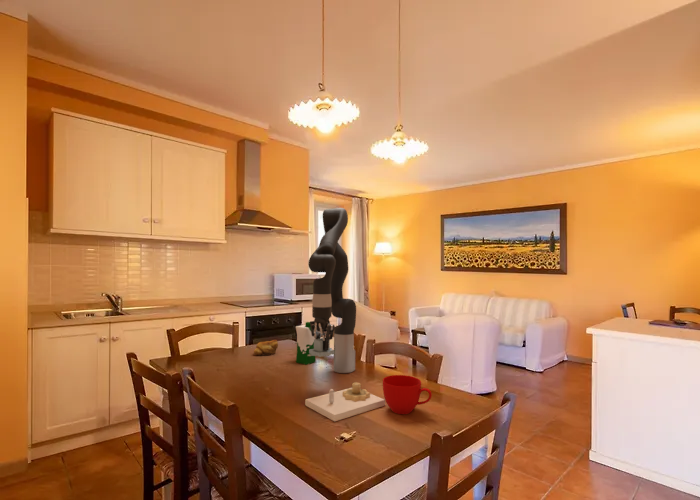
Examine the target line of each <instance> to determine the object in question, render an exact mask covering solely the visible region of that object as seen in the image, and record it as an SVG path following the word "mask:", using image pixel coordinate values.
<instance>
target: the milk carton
mask: <svg viewBox="0 0 700 500" xmlns="http://www.w3.org/2000/svg"><path fill="white" fill-rule="evenodd" d="M295 330H296V358H295V363H297V364H302V365H310V364H313V363H314V364H315V363H317V362H316V356H311V354H310V353H309V349H314V339H315V338H314V336H312V334H311V327H310V321H307V322H305V324H301V325H296V326H295ZM314 333H315V332H314Z"/></svg>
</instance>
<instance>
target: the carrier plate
mask: <svg viewBox="0 0 700 500" xmlns="http://www.w3.org/2000/svg"><path fill="white" fill-rule="evenodd" d="M351 384H352V386H351V387H349V388H348V387H347V388H345V389H342V390H338V391H335V390H334V389H333V388H330V389H329V391H328V393H325V394H322V395H317V396H314V397H309V398H307V399H305V402H304V403H305V406H306V407H307V408H309V409H311V410H313V411H314V412H317V413H318V414H320V415H322V416H324V417H326V418H327V419H329V420H331V421H333V422H337V421H340V420H344V419H347V418H350V417H353V416H356V415H359V414H363V413H366V412H369V411H371V410H375V409H379V408H382V407H384V406H385V405H386V400H385V398H382V397H379V396H378V395H374V394H373V393H371V392H369V391H367V389H364V388H363V389H361V383H360V382H357V381H355V382H352V383H351Z"/></svg>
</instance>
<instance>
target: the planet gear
mask: <svg viewBox="0 0 700 500" xmlns="http://www.w3.org/2000/svg"><path fill="white" fill-rule="evenodd" d="M330 341H331V340H329V348H328V350H326V351H324V350H323V338H322V337H321V338H320V339H314V349H309V353H310V354H311V356H315V357H319V358H320V357H330V356H331V355H334V349H333V347H331V345H330V344H331V342H330Z"/></svg>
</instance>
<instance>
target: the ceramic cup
mask: <svg viewBox="0 0 700 500" xmlns="http://www.w3.org/2000/svg"><path fill="white" fill-rule="evenodd" d="M424 391H426V392H427V394H428V397H427V399H425V400H424V401H423V400H422V401H420V398H421V393H422V392H424ZM382 392H383V397H384V398H383V399H385V404H386V405H387V406H388V407H389V409H390V410H391V411H392V412H393V413H394V414H398V415H408V414H411V413H412V411H413V410H414V409H416V408H417V406H418V405H424V404H427V403H428V402H430V400H432V395H433V394H432V391H431V390H430V389H429V388H427V387H424V388H422V381H421V379H420V378H418V377H415V376H410V375H405V374H395V375H394V374H393V375H388V376H386V377H383V379H382Z"/></svg>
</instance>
